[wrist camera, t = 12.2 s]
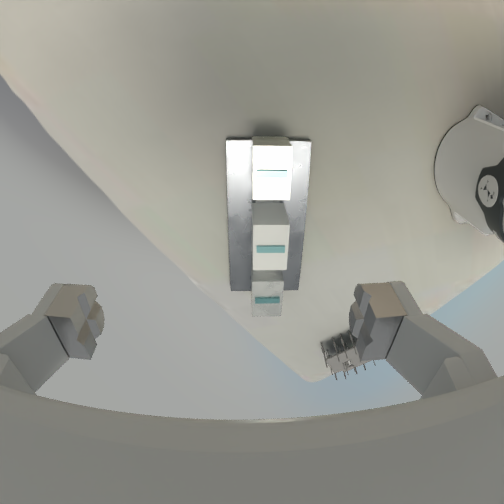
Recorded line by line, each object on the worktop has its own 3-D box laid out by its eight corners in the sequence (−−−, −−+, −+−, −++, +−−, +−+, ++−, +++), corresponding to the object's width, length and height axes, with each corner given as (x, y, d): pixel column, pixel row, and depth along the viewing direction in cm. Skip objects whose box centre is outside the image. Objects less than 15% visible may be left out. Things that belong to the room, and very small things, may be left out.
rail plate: (309, 135, 37) (321, 148, 31) (296, 287, 49) (302, 316, 43) (226, 134, 36) (223, 146, 31) (231, 288, 49) (229, 317, 43)
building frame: (368, 342, 57) (377, 365, 52) (331, 358, 59) (337, 383, 54) (359, 323, 54) (368, 348, 49) (319, 341, 56) (324, 367, 51)
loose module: (283, 203, 40) (290, 226, 35) (281, 244, 43) (286, 271, 38) (252, 202, 40) (253, 226, 35) (251, 244, 43) (252, 271, 38)
